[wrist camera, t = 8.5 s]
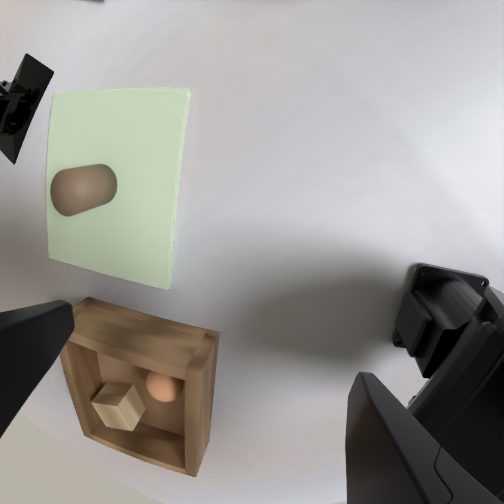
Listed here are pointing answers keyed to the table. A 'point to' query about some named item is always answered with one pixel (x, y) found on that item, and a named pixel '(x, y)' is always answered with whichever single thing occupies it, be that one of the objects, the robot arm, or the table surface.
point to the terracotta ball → (164, 386)
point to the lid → (116, 180)
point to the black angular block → (21, 104)
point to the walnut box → (143, 381)
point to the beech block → (119, 406)
